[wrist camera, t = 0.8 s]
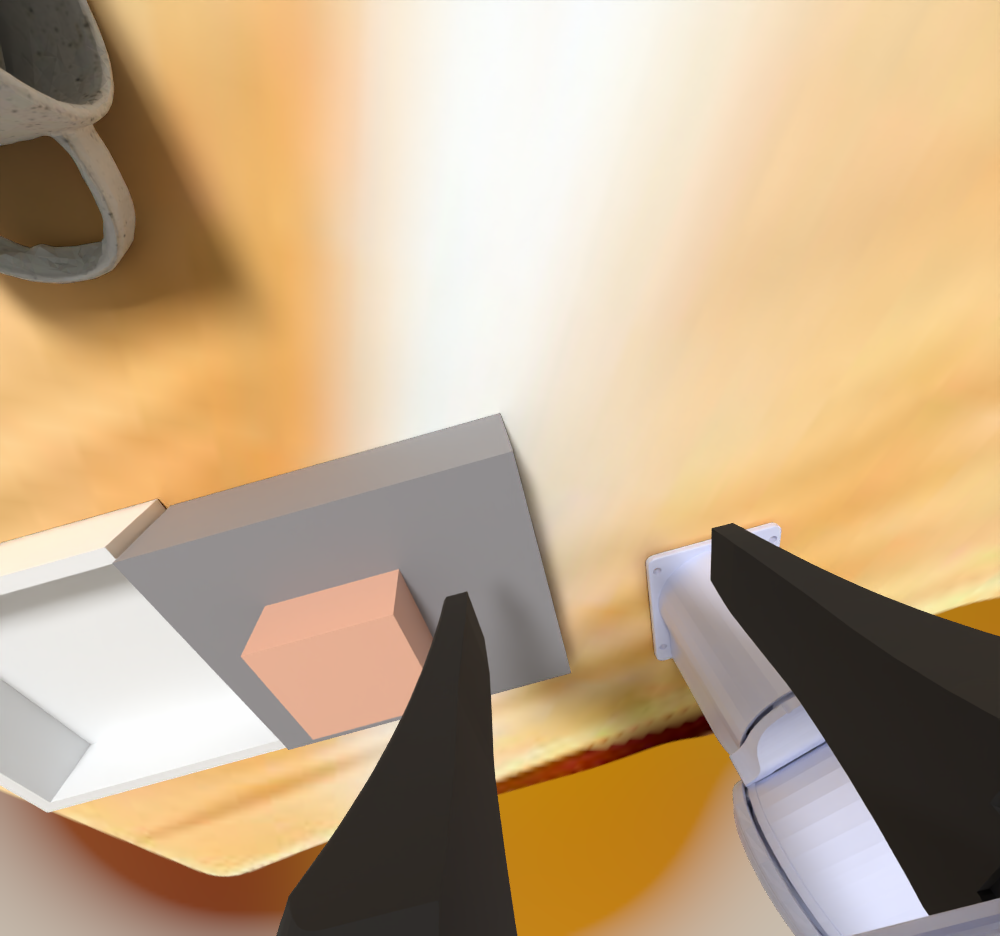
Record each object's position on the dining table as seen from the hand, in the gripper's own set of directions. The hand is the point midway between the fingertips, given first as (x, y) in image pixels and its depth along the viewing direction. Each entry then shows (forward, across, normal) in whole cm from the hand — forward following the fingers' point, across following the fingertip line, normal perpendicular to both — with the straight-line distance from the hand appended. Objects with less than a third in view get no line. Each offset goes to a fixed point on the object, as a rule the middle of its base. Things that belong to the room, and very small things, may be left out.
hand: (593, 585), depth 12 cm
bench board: (+10, +9, +5) cm, 14 cm away
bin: (+9, +24, +5) cm, 27 cm away
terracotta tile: (+6, +10, +5) cm, 13 cm away
